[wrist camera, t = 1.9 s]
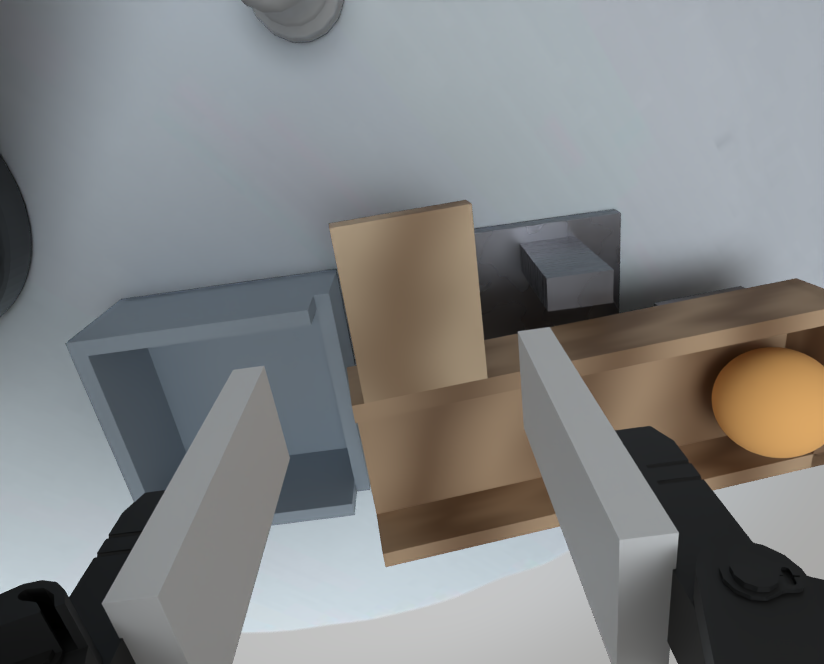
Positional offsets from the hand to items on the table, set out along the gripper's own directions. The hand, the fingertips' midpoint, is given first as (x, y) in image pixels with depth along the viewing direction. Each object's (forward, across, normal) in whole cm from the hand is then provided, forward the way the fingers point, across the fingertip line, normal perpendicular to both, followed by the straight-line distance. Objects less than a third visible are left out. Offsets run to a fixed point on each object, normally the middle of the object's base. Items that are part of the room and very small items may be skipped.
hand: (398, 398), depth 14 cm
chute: (+15, +8, -5) cm, 17 cm away
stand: (+19, +8, -8) cm, 22 cm away
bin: (+19, -10, -8) cm, 23 cm away
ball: (+10, +16, -8) cm, 21 cm away
